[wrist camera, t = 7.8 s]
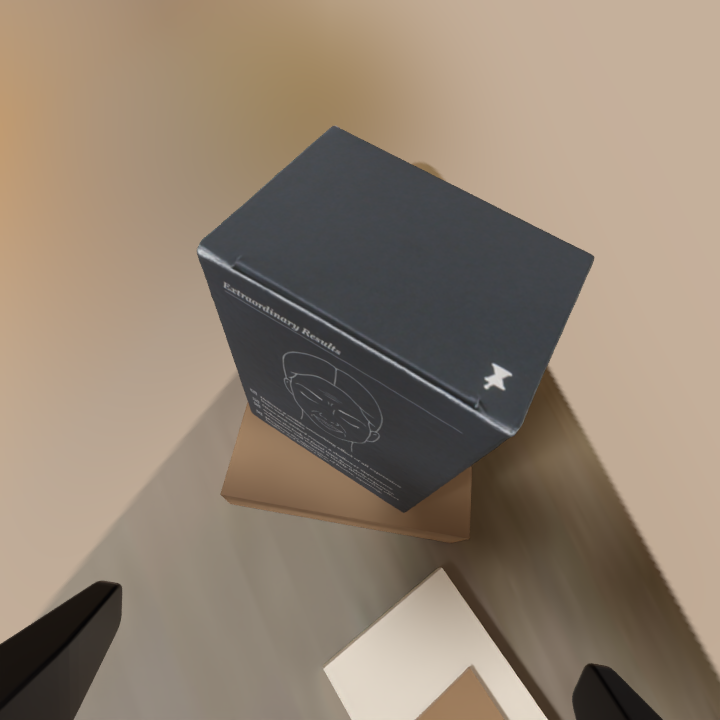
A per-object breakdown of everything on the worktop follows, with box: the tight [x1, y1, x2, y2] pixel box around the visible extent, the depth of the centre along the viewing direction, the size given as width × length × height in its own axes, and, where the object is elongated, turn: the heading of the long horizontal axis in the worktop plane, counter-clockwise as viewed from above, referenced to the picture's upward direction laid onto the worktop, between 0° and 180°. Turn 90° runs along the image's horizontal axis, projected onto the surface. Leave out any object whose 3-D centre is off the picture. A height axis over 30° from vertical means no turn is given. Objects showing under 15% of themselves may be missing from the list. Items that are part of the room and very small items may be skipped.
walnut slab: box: [221, 403, 472, 543], centre depth 20 cm, size 10×10×2 cm
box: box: [197, 126, 594, 513], centre depth 14 cm, size 8×6×11 cm
